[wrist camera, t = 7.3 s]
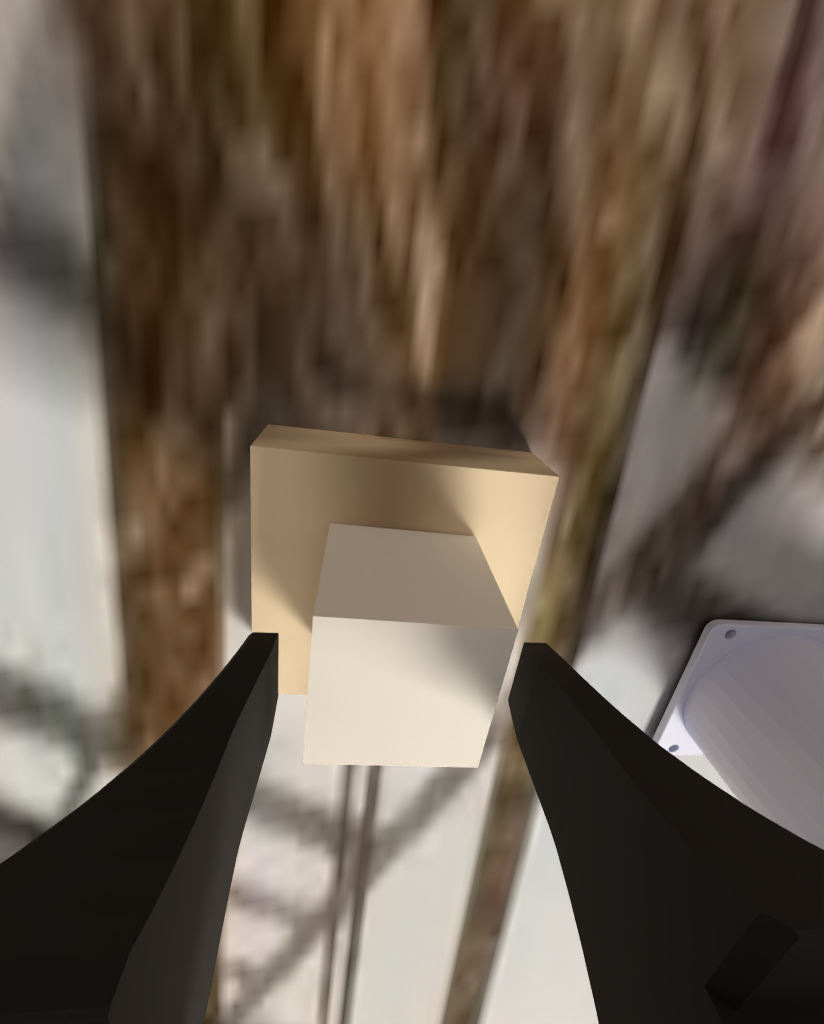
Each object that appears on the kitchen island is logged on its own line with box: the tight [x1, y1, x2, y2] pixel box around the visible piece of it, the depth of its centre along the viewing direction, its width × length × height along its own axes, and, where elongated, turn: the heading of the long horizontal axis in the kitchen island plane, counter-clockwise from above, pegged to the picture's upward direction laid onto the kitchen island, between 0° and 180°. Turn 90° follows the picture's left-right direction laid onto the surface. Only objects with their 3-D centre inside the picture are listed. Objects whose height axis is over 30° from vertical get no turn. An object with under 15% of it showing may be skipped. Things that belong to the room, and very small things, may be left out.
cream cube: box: [303, 523, 518, 768], centre depth 13 cm, size 4×4×4 cm
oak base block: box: [250, 424, 559, 694], centre depth 16 cm, size 9×9×3 cm
